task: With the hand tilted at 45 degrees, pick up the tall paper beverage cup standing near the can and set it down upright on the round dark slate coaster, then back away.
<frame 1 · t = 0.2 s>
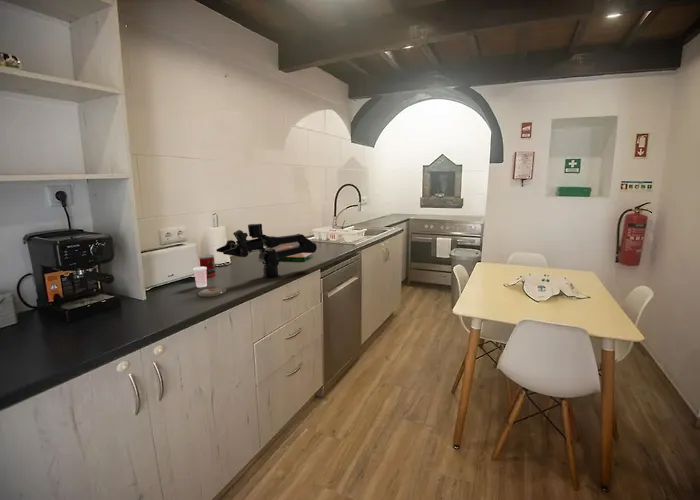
hand: (219, 251, 168), 17 cm above the countertop, tool horizontal, fingers open, 9 cm apart
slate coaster: (212, 292, 161), on the countertop
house: (288, 258, 235), on the countertop
beverage cup: (201, 286, 172), on the countertop
canned food: (208, 276, 191), on the countertop
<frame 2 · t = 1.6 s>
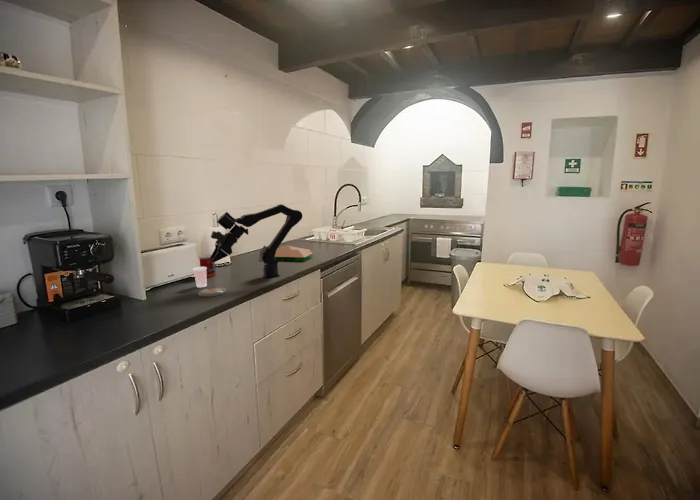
hand: (211, 260, 172), 12 cm above the countertop, tool tilted 45°, fingers open, 9 cm apart
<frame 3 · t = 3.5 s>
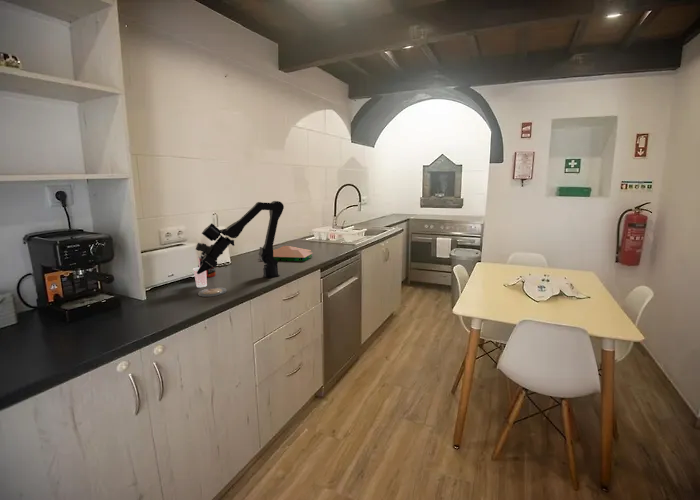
hand: (197, 272, 170), 7 cm above the countertop, tool tilted 45°, fingers closed on beverage cup, 6 cm apart
beverage cup: (201, 286, 172), on the countertop, touching gripper
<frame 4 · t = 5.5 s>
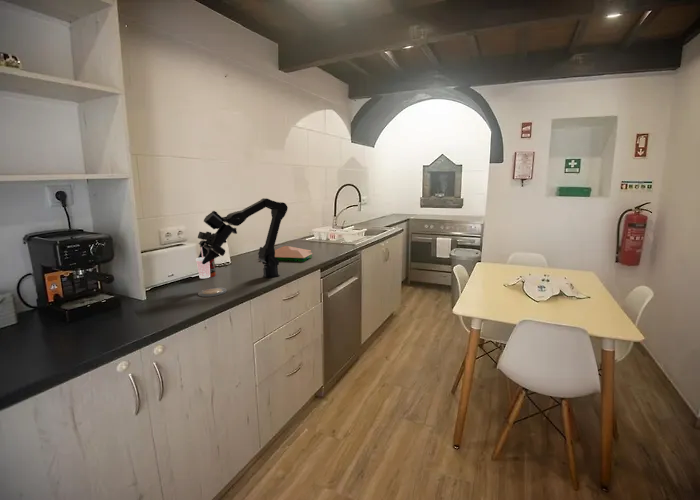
hand: (200, 262, 162), 13 cm above the countertop, tool tilted 45°, fingers closed on beverage cup, 6 cm apart
beverage cup: (205, 277, 164), point 6 cm above the countertop, touching gripper
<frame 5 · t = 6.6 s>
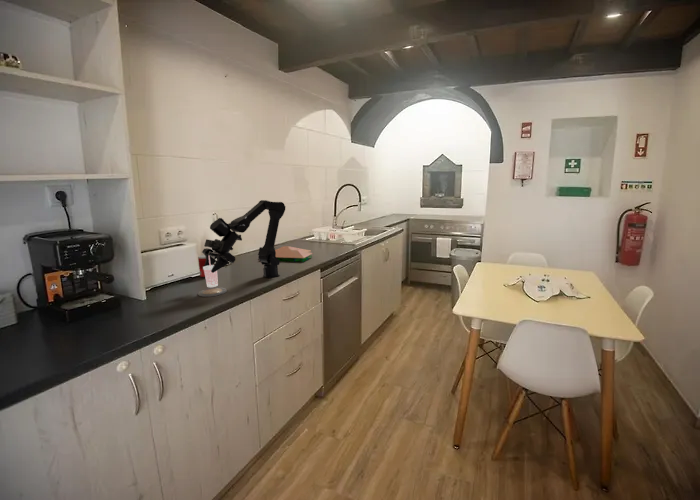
hand: (207, 271, 158), 10 cm above the countertop, tool tilted 45°, fingers closed on beverage cup, 6 cm apart
beverage cup: (212, 286, 160), point 3 cm above the countertop, touching gripper
when the fingers open (9 cm above the countertop, at t = 7.3 s): beverage cup drops 1 cm, resting on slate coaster.
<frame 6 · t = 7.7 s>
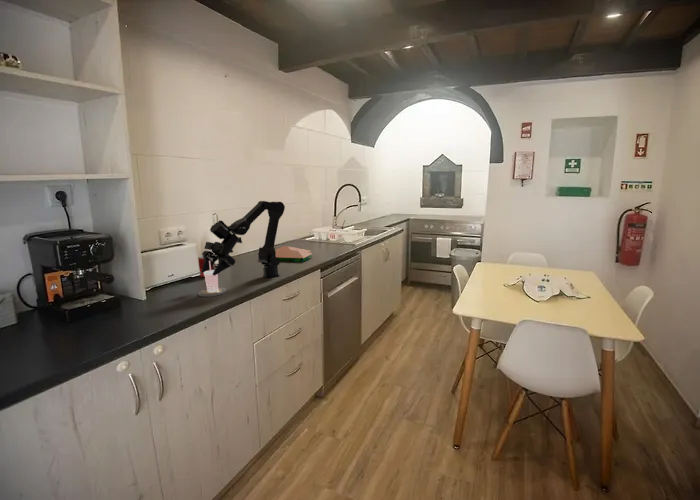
hand: (207, 273, 158), 9 cm above the countertop, tool tilted 45°, fingers open, 9 cm apart
beverage cup: (213, 291, 161), point 1 cm above the countertop, touching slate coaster
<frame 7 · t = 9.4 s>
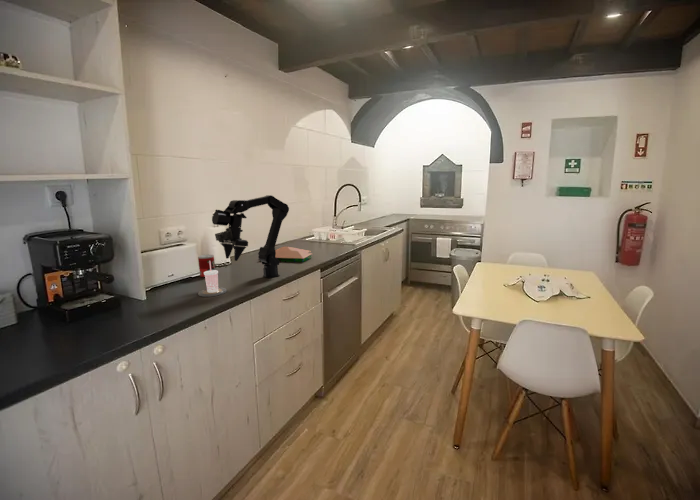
hand: (231, 259, 169), 13 cm above the countertop, tool pointing down, fingers open, 9 cm apart
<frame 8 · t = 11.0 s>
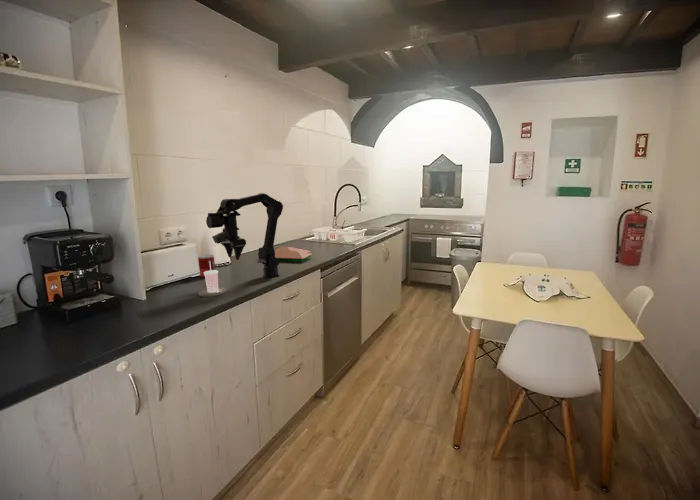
hand: (233, 258, 170), 13 cm above the countertop, tool pointing down, fingers open, 9 cm apart
at the end: beverage cup inside the target area on the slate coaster (0.2 cm from its centre), point 0.5 cm above the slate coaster's base; beverage cup tilted 0°; the gripper is holding nothing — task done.
